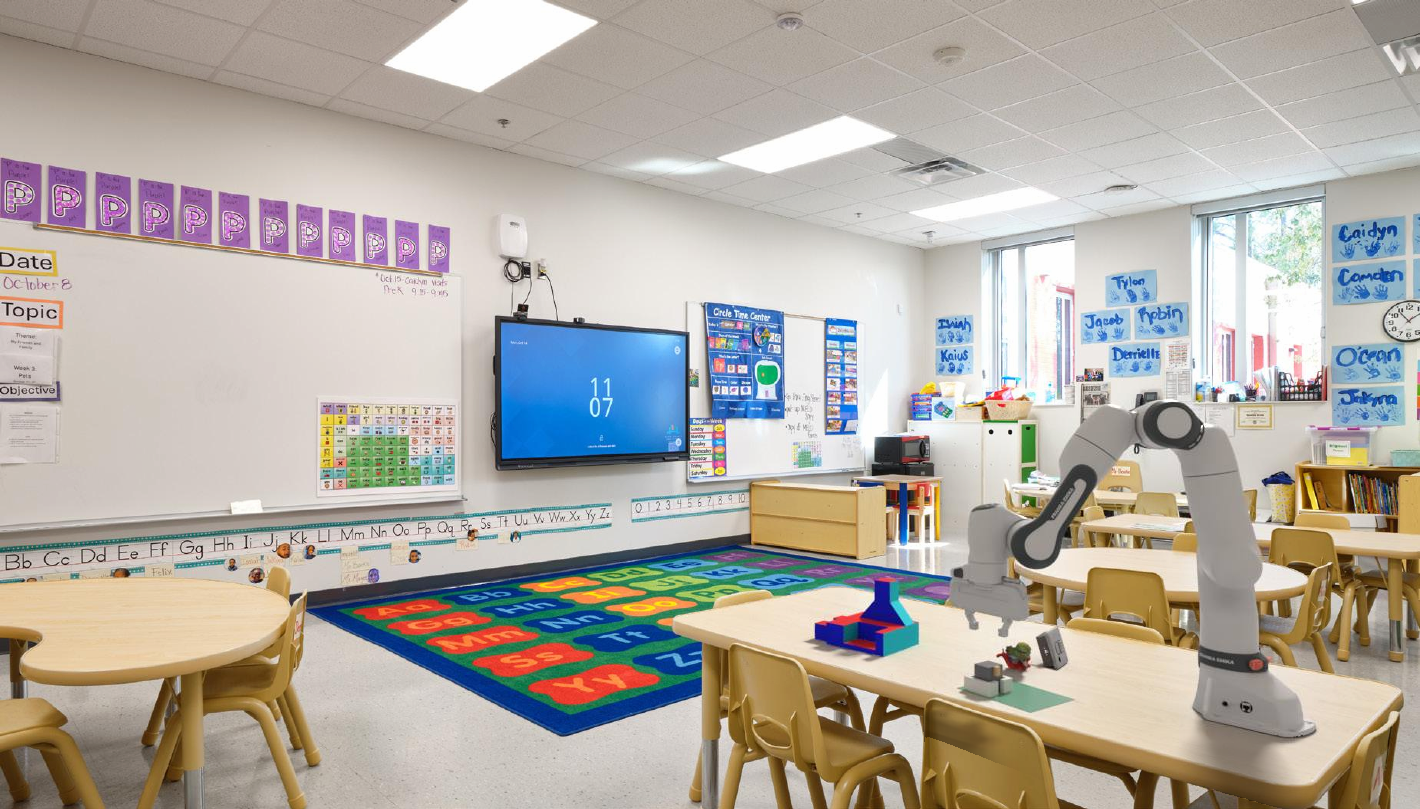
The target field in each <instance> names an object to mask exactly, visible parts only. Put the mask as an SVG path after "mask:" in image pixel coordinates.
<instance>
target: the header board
mask: <svg viewBox="0 0 1420 809" xmlns="http://www.w3.org/2000/svg"><path fill="white" fill-rule="evenodd" d="M957 689H958V690H961V691H964V692H967V693H970V694H973V695H976V696H978V697H981V698H986V699H988V700H991V701H994V702H997V703H999V704H1004V705H1007V706H1009V707H1012V708H1015V709H1018V710H1020V711H1024V712H1027V713H1031V714H1032V713H1036V712H1038V711H1041V710H1045V709H1049V708H1051V707H1055V706H1059V705H1062V704H1065V703H1069V702H1072V701H1075V700H1076V699H1075V698H1072V697H1069V696H1065V695H1062V694H1058V693H1055V692H1052V691H1048V690H1045V689H1043V688H1039V687H1036V686H1032V685H1029V684H1026V683H1022V682H1020V681H1019V682H1018V681H1016V680H1013V677H1010V676H1007V675H1004V674H1003V679H1000V691H999V692H998V682H997V681H991V682H987V681H983V680H980V679H977V678H974V673H970V674H966V675H964V676H963V686H959V687H957Z"/></svg>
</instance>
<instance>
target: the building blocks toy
mask: <svg viewBox="0 0 1420 809" xmlns="http://www.w3.org/2000/svg"><path fill="white" fill-rule="evenodd" d="M899 582H900V580H899V579H896V578H895V579H893V578H888V577H880V578H878V579H877V578H875V579H874V583H873V585H874V589H873V590H874V594H873V595H874V596H873V598H874V600H873V601H872V602H871V604H869V606H867V608H866V609H865V610H864V611H861V612H857V613H853V614H851V615H844V614H842V615H838V616H835V617H833V618H832V620H829V621H828V620H821V621H817V622H814V640H819V641H821V642H825V643H826V644H825V645H828V646H832V647H838V648H841V649H846V650H851V651H856V652H860V653H863V654H868V655H873V656H877V657H882V658H885V657H889V656H890V655H893V654H896V653H898V652H900V651H903V650H907V649H909V648H912V647H915V646H917V645H919V644H920V622H919V621H915V620H913V618H911V616H910V614H909V613H908V611H907V610H906V609H905V607H904V606H903V604H902V603H901V601H900V599H899V597H900V596H899V595H900V594H899V592H900V591H899V590H900V586H899Z"/></svg>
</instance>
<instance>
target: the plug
mask: <svg viewBox="0 0 1420 809" xmlns="http://www.w3.org/2000/svg"><path fill="white" fill-rule="evenodd" d="M973 666H974V667H973V668H974V670H973V672H974V673H973V674H974V678H977V679H980V680H983V681H987V682H991V681H997V682H998V692H999V691H1000V679H1003V675H1004V674H1003V673H1004V672H1003V671H1004V670H1003V668H1004V667H1003V666H1004V665H1003V664H1002V663H999V662H994V661H991V660H985V661H981V662H976V663H974V664H973Z"/></svg>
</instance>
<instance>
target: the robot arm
mask: <svg viewBox="0 0 1420 809" xmlns="http://www.w3.org/2000/svg"><path fill="white" fill-rule="evenodd" d="M1133 445H1134V446H1137V447H1139V448H1143V449H1149V450H1162V451H1163V450H1167V449H1170V450H1171V451H1172V452H1173V453H1174V454H1175V455H1176V456H1177V459H1178V462H1179V464H1180V469H1181V477H1182V480H1183V485H1184V490H1185V491H1184V492H1185V495H1186V499H1187V505H1188V506H1187V507H1188V510H1189V515H1190V516H1191V517H1190V518H1191V521H1192V524H1193V528H1194V532H1195V536H1196V541H1197V547H1196V552H1195V554H1196V573H1197V574H1196V575H1197V588H1198V589H1197V590H1198V601H1199V602H1198V603H1199V634H1200V635H1199V638H1200V640H1199V643H1198V645H1197V665H1198V668H1199V673H1198V680H1197V681H1198V682H1197V688H1196V692H1195V696H1194V699H1193V700H1194V701H1193V703H1192V708H1193V709H1194V710H1195V711H1197V713H1200V714H1201V715H1202V717H1203V719H1205V720H1207V721H1211V722H1216V723H1220V724H1224V725H1229V726H1233V727H1238V728H1242V729H1245V730H1246V729H1247V730H1251V731H1255V732H1260V733H1264V734H1269V735H1273V736H1277V735H1278V736H1277V737H1282V738H1297V737H1296V736H1298V737H1302V736H1301V735H1303V736H1306V735H1310V734H1311V733H1314V731H1315V730H1316V729H1317V725H1316V721H1314V719H1310V718H1308V717H1305V716H1304V713H1303V709H1302V708H1303V707H1302V703H1301V700H1300V697H1299V696H1298V694H1297V693H1296V692H1295V691H1293V690H1292V689H1291V688H1290V687H1288V686H1287V685H1286V684H1285V683H1284V682H1283V681H1282V680H1280V679H1279V678H1278V677H1277V676H1275V674H1273V673H1272V672H1271V671H1270V670H1269V663H1272V662H1273V661H1272V658H1273V657H1272V656H1267V657H1266V656H1265V655H1264V654H1263V653H1262V652H1261V650H1260V649H1259V648H1260V644H1259V642H1260V641H1259V639H1260V637H1259V636H1260V633H1259V630H1260V629H1259V628H1260V627H1259V625H1260V624H1259V611H1258V605H1257V597H1256V589H1255V587H1256V586H1255V585H1256V583H1257V582H1258V581H1259V580H1260V579H1261V576H1262V574H1263V569H1264V568H1263V566H1264V565H1263V564H1264V563H1263V560H1262V555H1261V551H1260V548H1259V544H1258V540H1257V537H1256V532H1255V530H1254V526H1253V523H1252V520H1251V517H1250V513H1249V509H1248V506H1247V503H1246V502H1247V501H1246V497H1245V492H1244V488H1243V487H1244V486H1243V484H1242V478H1241V474H1240V470H1239V469H1240V468H1239V465H1238V461H1237V457H1236V453H1235V451H1234V448H1233V446H1232V442H1231V441H1230V438H1229V437H1228V434H1227V432H1226V430H1224V429H1223V427H1220V426H1219V425H1216V424H1212V423H1204V422H1203V421H1202V420H1201V418H1199V417H1198V416H1197V415H1196V413H1195V411H1193V409H1192V408H1191V407H1189V405H1187V404H1185V402H1183V401H1179V400H1177V399H1171V398H1170V399H1169V398H1166V399H1158V400H1152V401H1149V402H1147V403H1144V404H1142V405H1138V406H1136V407H1134V408H1132V409H1130V410H1127V409H1126V408H1124V407H1122V406H1120V405H1117V404H1111V403H1109V404H1102V405H1101V406H1098V407H1097V408H1096V409H1095V410H1094V411H1093V412H1091V414H1090V415H1089V416H1088V417H1087V418H1086V419H1085V420H1084V421H1083V422H1082V423H1081V424H1080V425H1079V426H1078V428H1077V429H1076V430H1075V431H1074V433H1073V434H1072V436H1071V437H1070V438H1069V440H1068V441H1067V443H1066V444H1065V446H1064V448H1063V450H1062V451H1061V453H1060V456H1059V458H1058V467H1059V474H1060V477H1059V478H1060V479H1059V483H1058V486H1057V487H1056V489H1055V491H1054V492H1053V494H1052V496H1051V497H1050V498H1049V500H1048V501H1047V503H1046V504H1045V506H1044V507H1043V508H1042V510H1041V512H1040V513H1039V515H1038V516H1037V517H1035V518H1034V519H1032V518H1028V517H1026V516H1023V515H1021V514H1019V513H1016V512H1014V511H1013V510H1010V509H1009V508H1007V507H1006V506H1004V504H1002V503H986V504H985V503H984V504H981V505H978V506H975V507H973V508H972V509H971V511H970V513H969V516H968V523H967V543H968V547H969V548H968V549H969V553H968V556H967V564H964V565H961V566H957V567H953V568H951V569H950V576H951V579H950V581H949V587H948V592H949V593H948V597H949V599H948V600H949V603H950V605H951V607H954V608H958V609H962V610H964V615H965V617H966V619H967V621H968V629H970V630H973V631H976V630H977V631H978V630H979V625H980V624H979V623H980V622H979V621H977V620H976V618H975V615H974V614H976V613H979V614H984V615H988V616H993V617H997V618H1001V623H1002V627H1001V628H998V629H997V632H998V633H997V636H998V637H1001V638H1008V637H1009V629H1010V628H1011V626H1012V624H1013V621H1014V622H1021V621H1027V619H1028V618H1029V617H1030V607H1029V600H1028V599H1029V598H1028V595H1027V594H1028V590H1027V585H1026V584H1025V583H1024V582H1023V581H1022V579H1019V578H1015V577H1014V578H1013V577H1009V574H1008V573H1009V572H1008V559H1009V558H1014V559H1015V560H1016V561H1017V563H1019V564H1020V565H1021V566H1023V567H1025V568H1026V569H1029V570H1043V569H1046V568H1048V567H1050V566H1052V565H1053V564H1054V563H1055V562H1056V560H1058V557H1059V555H1060V553H1061V549H1062V543H1063V539H1064V537H1065V534H1066V532H1067V530H1068V529H1069V528H1070V525H1071V524H1072V523H1073V521H1074V519H1075V518H1076V517H1077V515H1078V513H1079V512H1080V510H1081V509H1082V507H1083V506H1084V504H1085V503H1086V502H1087V500H1088V498H1089V497H1090V495H1091V494H1092V493H1093V492H1094V490H1095V489H1096V488H1097V487H1098V486H1099V484H1100V483H1101V482H1102V481H1103V480H1104V479H1105V478H1106V476H1107V475H1108V474H1109V473H1110V472H1111V471H1112V469H1113V468H1114V466H1115V465H1116V464H1117V462H1118V461H1119V460H1120V458H1121V457H1122V456H1123V454H1124V453H1125V452H1126V451H1127V450H1128V449H1129V448H1130V447H1131V446H1133ZM1294 736H1295V737H1294Z"/></svg>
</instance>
